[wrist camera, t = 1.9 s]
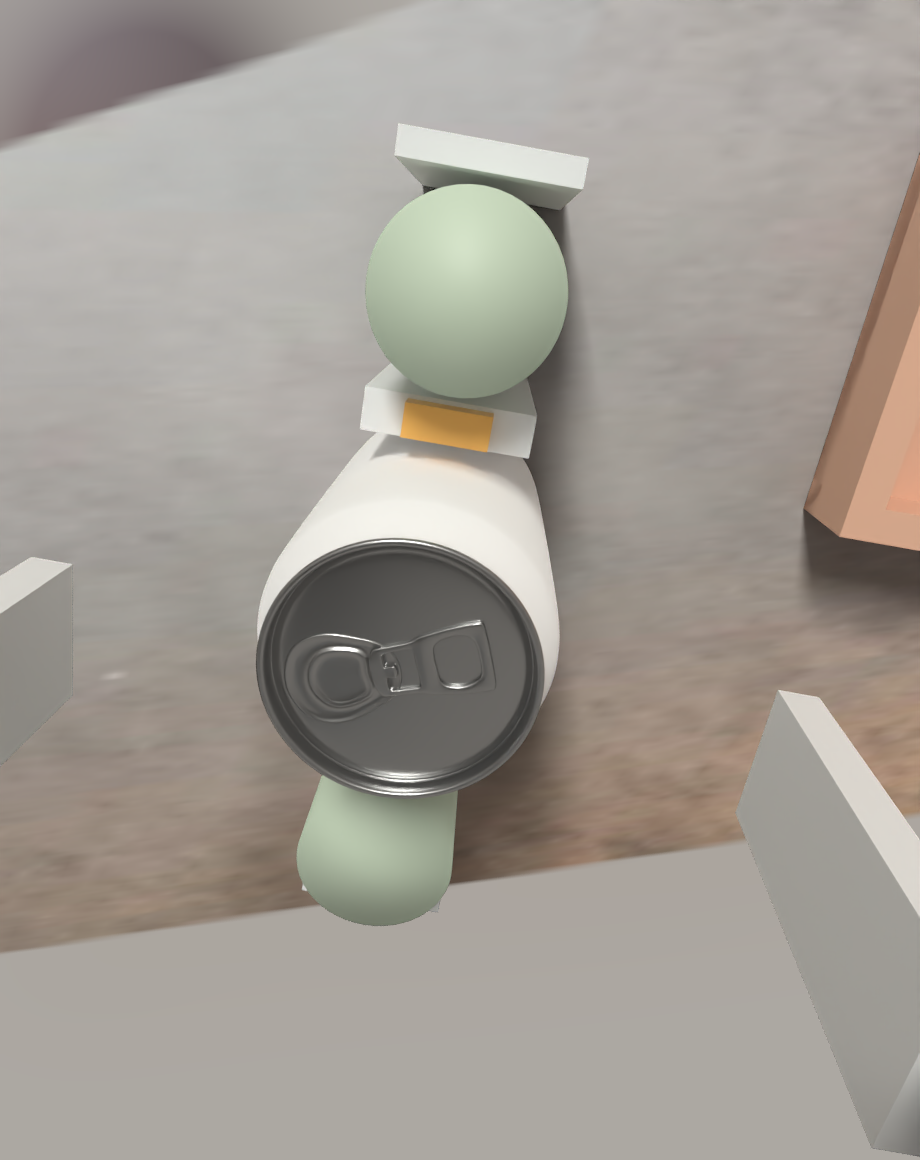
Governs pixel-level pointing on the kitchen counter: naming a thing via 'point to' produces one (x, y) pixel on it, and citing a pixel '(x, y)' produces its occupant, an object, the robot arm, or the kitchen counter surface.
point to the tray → (880, 408)
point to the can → (411, 620)
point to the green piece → (466, 291)
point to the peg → (376, 853)
